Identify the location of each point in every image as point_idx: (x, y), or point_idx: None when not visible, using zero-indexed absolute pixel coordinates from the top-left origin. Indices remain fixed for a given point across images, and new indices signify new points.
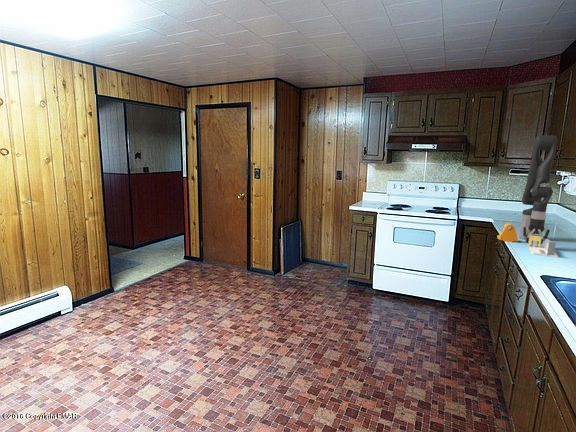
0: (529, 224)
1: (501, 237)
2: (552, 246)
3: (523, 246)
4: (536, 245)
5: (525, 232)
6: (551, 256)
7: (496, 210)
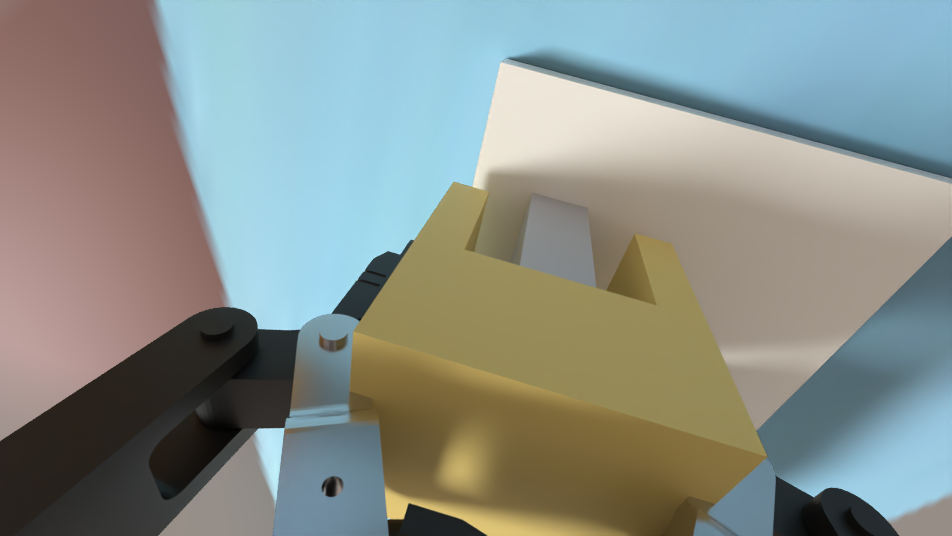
0: None
1: None
2: None
3: (390, 207)
4: (644, 191)
5: (158, 514)
6: None
7: None
